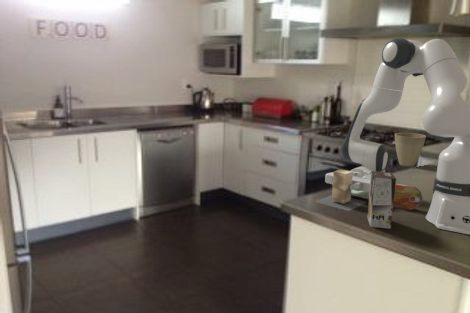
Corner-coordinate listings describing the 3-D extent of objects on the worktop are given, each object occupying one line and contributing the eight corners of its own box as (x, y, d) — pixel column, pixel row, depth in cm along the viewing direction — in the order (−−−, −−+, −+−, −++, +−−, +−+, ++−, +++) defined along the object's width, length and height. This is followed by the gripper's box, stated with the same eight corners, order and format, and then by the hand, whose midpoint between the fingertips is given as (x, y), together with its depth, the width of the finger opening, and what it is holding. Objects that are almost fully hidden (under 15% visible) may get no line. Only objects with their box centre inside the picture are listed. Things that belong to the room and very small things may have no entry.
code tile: (367, 202, 152) (367, 202, 152) (348, 211, 142) (348, 210, 142) (333, 194, 161) (333, 193, 161) (314, 202, 151) (314, 201, 151)
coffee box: (391, 229, 127) (396, 178, 124) (369, 227, 128) (374, 177, 125) (387, 219, 136) (391, 171, 132) (366, 217, 137) (370, 170, 134)
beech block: (350, 200, 152) (352, 171, 149) (343, 203, 148) (346, 174, 146) (338, 197, 155) (340, 169, 153) (331, 200, 151) (333, 171, 149)
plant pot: (391, 160, 225) (394, 132, 222) (421, 163, 220) (424, 133, 217) (391, 166, 212) (394, 135, 208) (423, 169, 207) (427, 138, 203)
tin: (375, 204, 151) (377, 181, 149) (378, 201, 154) (380, 180, 152) (419, 212, 143) (422, 189, 141) (421, 209, 146) (424, 186, 144)
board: (387, 194, 163) (387, 193, 163) (374, 200, 154) (374, 199, 154) (354, 187, 172) (355, 185, 172) (340, 193, 164) (340, 191, 163)
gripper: (335, 166, 166) (317, 172, 156) (385, 175, 153) (368, 182, 143) (334, 181, 167) (316, 188, 157) (383, 192, 154) (367, 200, 144)
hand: (341, 185), depth 150 cm, fingers closed on beech block, 5 cm apart
